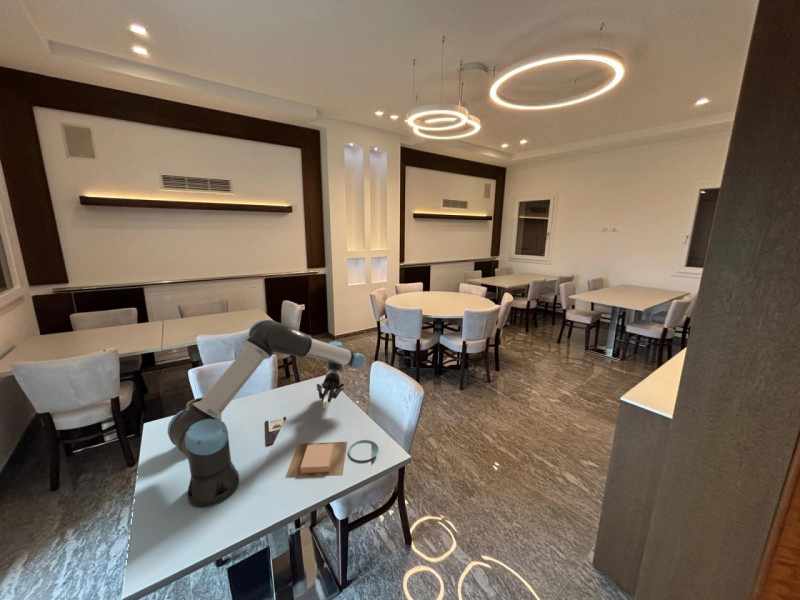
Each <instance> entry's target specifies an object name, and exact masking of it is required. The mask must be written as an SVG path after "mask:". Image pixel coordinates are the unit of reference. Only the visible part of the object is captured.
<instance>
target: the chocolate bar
mask: <svg viewBox="0 0 800 600" xmlns="http://www.w3.org/2000/svg"><path fill="white" fill-rule="evenodd" d="M285 421H287V416H282V417H279V418H275V419H270V420H265V422H264V423H265V424H264V425H265V445H266V447H268V446H273V445H274V443H275V442H276V440H277V438H278V435H279V433H280V431H281V429H282V427H283V425H284V423H285Z"/></svg>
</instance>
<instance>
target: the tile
mask: <svg viewBox="0 0 800 600" xmlns="http://www.w3.org/2000/svg"><path fill="white" fill-rule="evenodd" d="M333 450H334V447H333V444H318V445H307V448H306V452H305V455H304V458H303V461H302V464H301V467H300V471H301V473H316V472H329V469H330V464H331V460H332V455H333Z"/></svg>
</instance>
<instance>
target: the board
mask: <svg viewBox="0 0 800 600" xmlns="http://www.w3.org/2000/svg"><path fill="white" fill-rule="evenodd" d="M318 444H333V447H334V450H333V455H332V460H331V464H330V469H329V472H316V473H301V471H300V467H301V464H302V461H303V458H304V455H305V452H306V448H307V445H318ZM296 445H297V446H296V448H295V450H294V453H293V456H292V458H291V461H290V463H289V466H288V469H287V472H286V475H285V479H289V478H291V479H292V478H309V477H329V476H330V477H331V476H333V477H334V476H343V474H344V466H345V461H346V453H347V446H348V441H334V442H333V441H331V442H309V443H307V442H306V443H297V444H296Z"/></svg>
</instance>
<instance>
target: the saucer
mask: <svg viewBox="0 0 800 600" xmlns="http://www.w3.org/2000/svg"><path fill="white" fill-rule="evenodd" d="M360 444H369V445H371V453H370V458H368V459H365V460H364V459H363V460H359V459H356V458H354V457H353V456H352V453H351V451H352V449H353V448H354V447H355V446H358V445H360ZM347 451H348V455H349V457H350V459H353V460H354V461H357V462H367V461H370V460H371V459H373V458H375V457H376V455H378V453H379V451H380V450H379V445H378V444H377V443H376V442H374V441H372V440H369V439H362V440H358V441H356V442H354V443H352V444H351V445H350V446H349V448H348V450H347Z"/></svg>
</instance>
